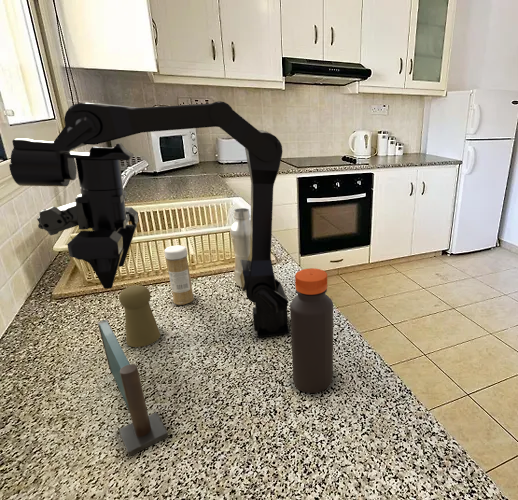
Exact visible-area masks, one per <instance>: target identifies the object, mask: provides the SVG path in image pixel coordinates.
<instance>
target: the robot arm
mask: <svg viewBox="0 0 518 500" xmlns="http://www.w3.org/2000/svg"><path fill="white" fill-rule="evenodd" d="M63 121H64V127H63V128H62V130H61V131H60V132H59V134H58V135H57V137H55V139H54V141H50V140H49V141H47V140H34V139H31V138H15V139H13V140H12V141H11V142H12V146H13V148H12V150H11V154H10V163H9V165H8V168H9V171H10V174H11V177H12V179H13V181H14V182H15V183H16V184H17V185H18V186H20V187H68V186H69V184H70V183H71V181H75V180H76V179H77V176H78V183H79V189H80V194H78V195H77V196H76V197H75V199H74V200H75V201H74V202H70V203H67V204H63V205H61V206H58V207H56V206H51V207H49V208H44V209H42V210H40V211H39V215H38V216H37V218H36V220H37V221H38V224H37V226H38V227H37V228H38V229H41V230H44V231H46V232H47V233H48V235H49V236H55V235H58V234H59V233H61V232H63V231H66V230H69V229H72V228H75V227H78V230H80V231H79V232H77V234H76V235H75V236H74V237H73V238H72V239H71V240H70V241H69V242H68V243H67V251H68V255H69V257H70V258H74V259H76V260H81V261H84V262H86V263H88V264H89V266H90V267H91V268H92V270H93V272H94V273H95V275H96V277H97V279H98V280H99V283H100V284H101V286H102V287H103V289H105V290H109V289H112V288H113V286H114V282H115V280H116V276H117V274H118V270H119V267H124V266H125V263H126V259H127V257H128V254H129V252H130V251H129V250H130V247H131V244H132V242H133V239H134V236H135V233H136V230H137V228H138V223H139V216H138V215H139V213H138V211H137V210H136V209H135V208H133V207H131V206H129V207H126V202H125V199H126V198H127V197H128V194H127V190H124V185H123V178H122V177H123V176H122V168H121V161H130V160H131V159H132V158H134V153H133V152H131V151H130V150H128V149H127V148H126V147H125V146H124V145H123V144H122V142H118V143H116V144H115V145H114V146H113V147H103V146H95V145H99V144H103V143H108V142H111V141H115V140H119V139H123V138H127V137H130V136H133V135H137V134H141V133H142V134H143V133H153V132H166V131H178V130H190V129H191V130H192V129H205V128H220V129H221V130H222V131H223V132H225V133H226V134H227V135H228V136H230V137H231V138H232V139H233V140H235V141H236V142H237V143H238V144H240V145H241V146H242V147H244V150H245V158H246V161H247V169H248V173H249V178H250V221H251V228H250V254H249V257H248V260H240V261H241V266H242V273H241V275H240V280H241V286H242V287H241V291H242V292H245V295H246V297H247V300H249V301H250V302H251V303H253V304H254V307H252V308H251V309H252V321H253V330H254V331H255V332H256V337H257V338H258V339H261V338H263V339H264V338H269V337H276V336H282V335H289V334H291V329H290V326H289V316H288V304H289V299H288V297H287V295H286V291H285V289H284V287H283V285H282V282H281V281H279V280H278V279H276V278H275V277H276V276H275V272H274V266H273V261H272V237H273V236H272V234H273V208H274V207H273V205H274V186H275V184H276V182H275V181H276V179H277V177H278V174H279V170H280V166H281V162H282V157H283V151H284V150H283V145H282V142H281V141H280V140H279V138H278V137H277V136H276V135H274V134H272V133H271V132H269V131H267V130H264V129H258V128H256V127H255V126H253V125H252V124H251V123H250V122H249V121H247V120H246V119H245V118H244V117H243V116H241V114H239V113H238V112H236V111H235V110H234V109H233V108H232V106H231V105H230V104H229V103H227V102H225V101H221V100H218V101H214V102H211V103H196V104H180V105H178V104H177V105H161V106H147V107H146V106H145V107H137V106H136V107H135V106H126V105H118V104H109V103H98V102H78V103H75V104H72V105H70V106H69V108H68V109H67V110H66V111H65V114H64V118H63ZM87 145H90V146H91V147H90V149H89V152H85V151H84V152H79V151H74V150H76V149H80V148H81V147H85V146H87ZM129 223H131V224H129Z"/></svg>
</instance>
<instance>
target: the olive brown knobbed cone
mask: <svg viewBox="0 0 518 500" xmlns="http://www.w3.org/2000/svg"><path fill="white" fill-rule="evenodd" d="M118 299H119V304H120V306H122V307H123V308H124V323H125V339H126V340H125V342H126V345H127V346H128V347H132V348H141V347H146V346H149V345H151V344H154V343H155V342H157V341H158V340H159V339H160V337H161V331H160V329H159V326H158V323H157V321H156V318H155V315H154V313H153V310H152V307H151V305H150V301H151V299H152V298H151V292H150V290H149V288H148V287H146V286H145V285H137V284H136V285H131V286H128V287H126V288H124V289H122V290H121V291H120V293H119V295H118Z"/></svg>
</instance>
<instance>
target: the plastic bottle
mask: <svg viewBox="0 0 518 500" xmlns="http://www.w3.org/2000/svg"><path fill="white" fill-rule="evenodd" d="M233 218H234V222H233V223H232V224H231V226H230V230H229V235H230V239H231V242H232V247H233V252H234V271H233V278H234V281H235V284H236V285H237V286H238V287H240V288H242V286H241V280H240V275H241V273H242V266H241V261H240V260H248V257H249V254H250V228H251V212H250V209H249V208H245V207H239V208H235V209H234V210H233Z"/></svg>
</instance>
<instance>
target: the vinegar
mask: <svg viewBox="0 0 518 500" xmlns="http://www.w3.org/2000/svg"><path fill="white" fill-rule="evenodd" d="M294 283H295V293H296V294H297V295H296V296H295V297H294V298H293V299H292V300H291V302H290V304H289V314H290V315H289V316H290V337H291V338H290V340H291V363H292V382H293V385H294V386H295V387H296V389H298V390H299V391H301V392H303V393H306V394H317V393H320V392H323V391H326V390H327V389H328V388H329V387H331V385H332V383H333V380H334V379H333V378H334V301H333V299H332V298H331V297H330V296H329V295H328V294H327V291H328V273H327V272H326V271H324V270H323V269H321V268H313V267H312V268H304V269H300V270H298V271H297V272H295V274H294Z"/></svg>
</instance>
